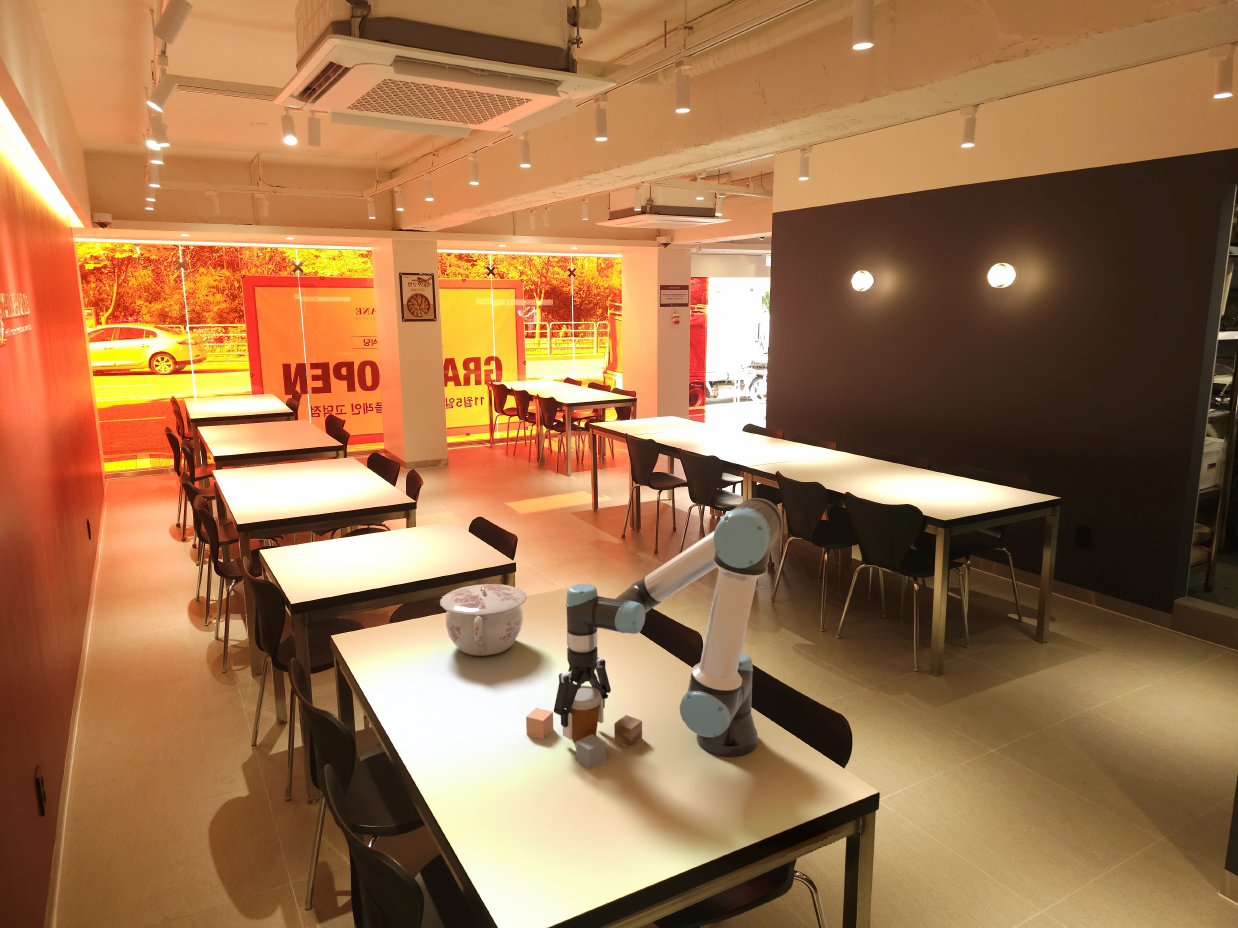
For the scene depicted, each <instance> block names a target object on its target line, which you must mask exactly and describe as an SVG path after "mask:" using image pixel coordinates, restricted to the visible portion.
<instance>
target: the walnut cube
mask: <svg viewBox="0 0 1238 928" xmlns="http://www.w3.org/2000/svg"><path fill="white" fill-rule="evenodd" d="M613 728H614V742H615V743H617V744H620V745H623V746H626V747H629V748H632V747H633V746H635V745H636V744H637V743H638V742H640V741H641V740H642V739H643V720H641V719H639V718H635V717H633V716H629V715H628V714H627V715H626V714H625V715H623V716H622V717H621V718H619V719H618V720H616V721H615V722H614V727H613Z"/></svg>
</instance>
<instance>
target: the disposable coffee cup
mask: <svg viewBox="0 0 1238 928" xmlns="http://www.w3.org/2000/svg"><path fill="white" fill-rule="evenodd" d="M601 700H602V696H601V694H600V691H599V690H598V689H597V688H594V687H592V686H591V685H585V684H583V685H581V687H580V689H578V691H577V694H576V696H575V699H574V702H573V705H572V707H571V710H570V713H571V714H572V739H571V740H572V741H573V742H574V743H576V741H578V740H580V739H582V738H585V737H587V736H589V735H592V734H593V735H594V736H596V737H597V731H598V724H599V722H598V716H599V708H600V703H601Z"/></svg>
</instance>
